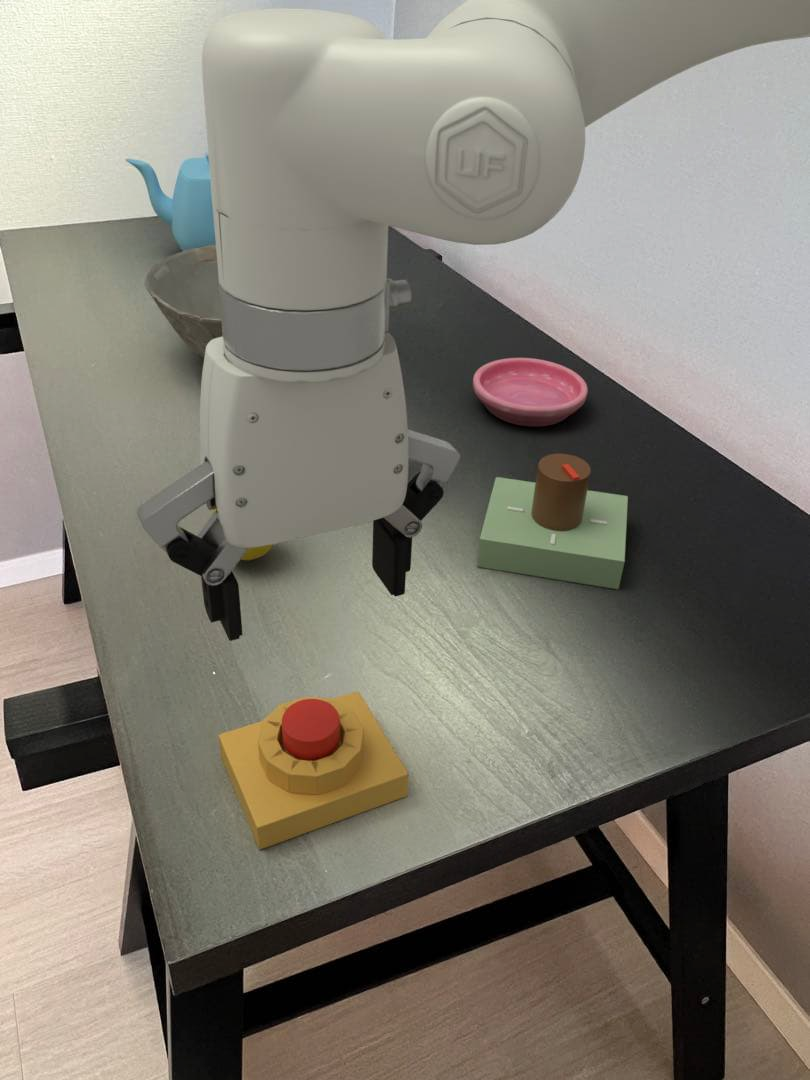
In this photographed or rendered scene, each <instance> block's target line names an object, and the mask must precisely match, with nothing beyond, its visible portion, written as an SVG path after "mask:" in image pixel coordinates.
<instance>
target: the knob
mask: <svg viewBox="0 0 810 1080" xmlns="http://www.w3.org/2000/svg"><path fill="white" fill-rule="evenodd" d="M591 473H592V468H591V466H590V464H589V463H588V462H587V461H585V459H583V458H581V457H578V456H576V455H573V454H568V453H552V454H548V455H545V456H543V457H542V458H540V460H539V461H538V463H537V470H536V475H535V490H534V497H533V504H532V511H531V514H532V517H533V519H534V520H535V521H536V522H537V523H538V524H539V525H541V526H543V527H546V528H549V529H553V530H569V529H573V528H575V527H577V526H578V525H579V524H580V523H581V521H582V518H583V512H584V507H585V501H586V496H587V490H589V483H590V478H591Z"/></svg>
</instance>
